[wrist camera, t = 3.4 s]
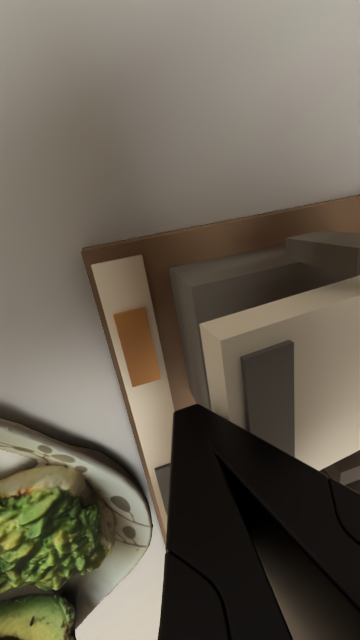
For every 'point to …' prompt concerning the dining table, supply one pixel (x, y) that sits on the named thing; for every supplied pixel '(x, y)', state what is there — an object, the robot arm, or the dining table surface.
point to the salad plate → (63, 534)
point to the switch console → (207, 308)
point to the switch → (291, 371)
